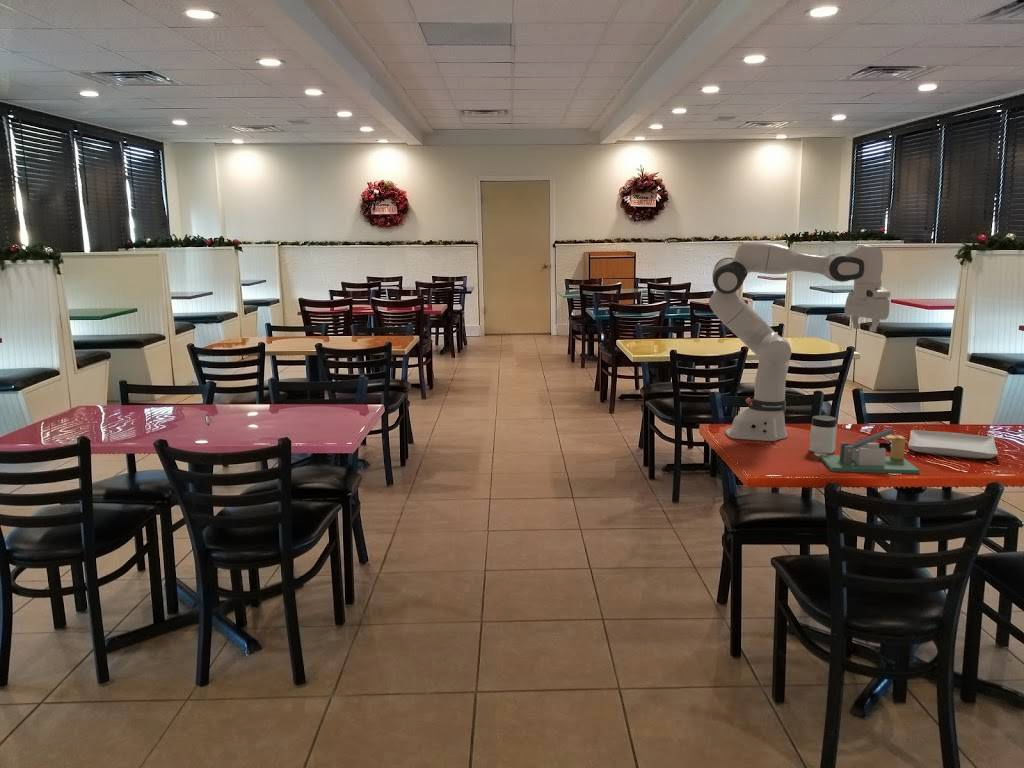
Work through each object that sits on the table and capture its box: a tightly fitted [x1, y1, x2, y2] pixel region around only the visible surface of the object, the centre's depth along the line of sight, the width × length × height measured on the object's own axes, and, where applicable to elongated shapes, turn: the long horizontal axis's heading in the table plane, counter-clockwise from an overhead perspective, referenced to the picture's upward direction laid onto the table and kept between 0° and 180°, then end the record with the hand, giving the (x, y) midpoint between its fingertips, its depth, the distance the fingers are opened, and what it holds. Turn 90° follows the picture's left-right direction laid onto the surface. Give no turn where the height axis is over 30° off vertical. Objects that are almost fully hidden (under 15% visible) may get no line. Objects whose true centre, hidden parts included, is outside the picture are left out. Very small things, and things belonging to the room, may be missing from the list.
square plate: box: [908, 429, 999, 460], centre depth 284 cm, size 27×27×4 cm
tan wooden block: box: [882, 434, 906, 460], centre depth 268 cm, size 6×4×7 cm
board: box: [818, 441, 921, 475], centre depth 263 cm, size 27×16×7 cm, turn 83°
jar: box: [809, 415, 838, 455], centre depth 282 cm, size 9×8×12 cm
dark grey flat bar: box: [842, 428, 894, 450], centre depth 262 cm, size 16×3×1 cm, turn 83°
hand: (864, 330), depth 285 cm, fingers open, 8 cm apart
